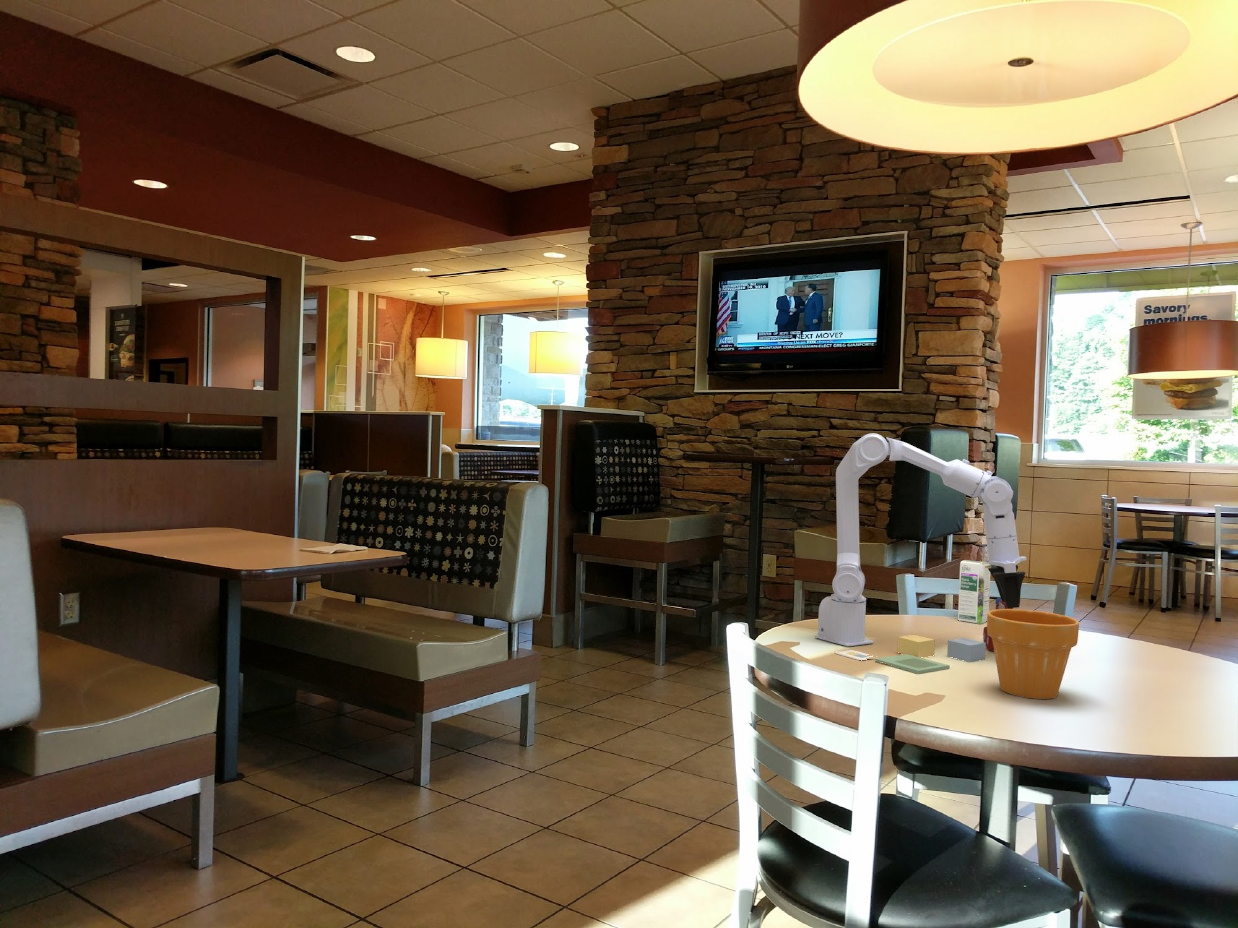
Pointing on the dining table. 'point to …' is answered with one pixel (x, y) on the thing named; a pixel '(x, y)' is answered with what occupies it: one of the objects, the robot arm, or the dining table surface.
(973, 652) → the brick
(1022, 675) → the flower pot
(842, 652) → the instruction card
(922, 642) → the brick
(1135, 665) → the dining table surface
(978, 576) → the syrup box
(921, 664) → the plate
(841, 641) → the robot arm
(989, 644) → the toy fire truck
